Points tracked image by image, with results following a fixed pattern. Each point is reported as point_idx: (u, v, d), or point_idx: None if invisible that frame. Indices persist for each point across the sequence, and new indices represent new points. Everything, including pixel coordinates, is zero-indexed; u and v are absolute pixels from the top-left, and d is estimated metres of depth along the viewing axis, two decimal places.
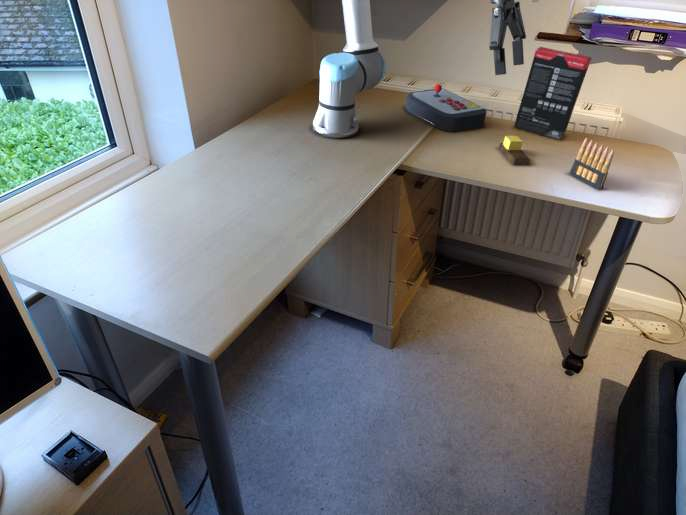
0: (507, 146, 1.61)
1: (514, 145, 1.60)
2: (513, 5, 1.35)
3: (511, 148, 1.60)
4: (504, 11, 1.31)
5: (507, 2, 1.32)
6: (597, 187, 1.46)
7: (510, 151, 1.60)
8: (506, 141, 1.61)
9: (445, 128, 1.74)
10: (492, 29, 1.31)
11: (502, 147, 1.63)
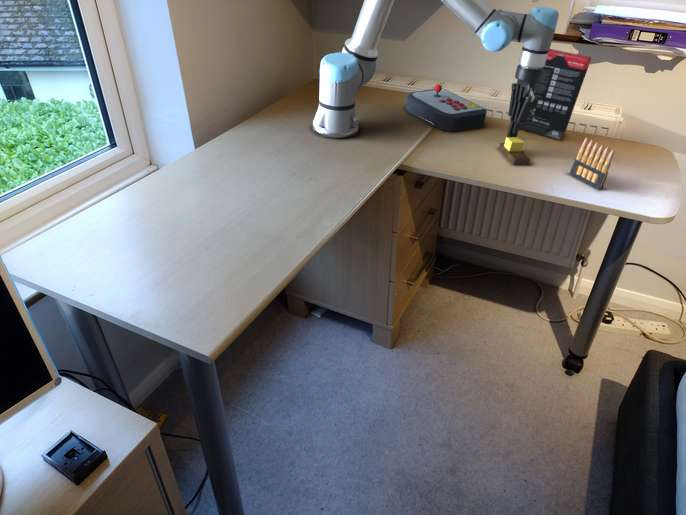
0: (508, 147, 1.60)
1: (515, 146, 1.59)
2: None
3: (513, 149, 1.59)
4: (533, 91, 1.50)
5: None
6: (597, 187, 1.46)
7: (510, 151, 1.60)
8: (507, 143, 1.61)
9: (445, 128, 1.74)
10: (524, 111, 1.53)
11: (502, 147, 1.63)
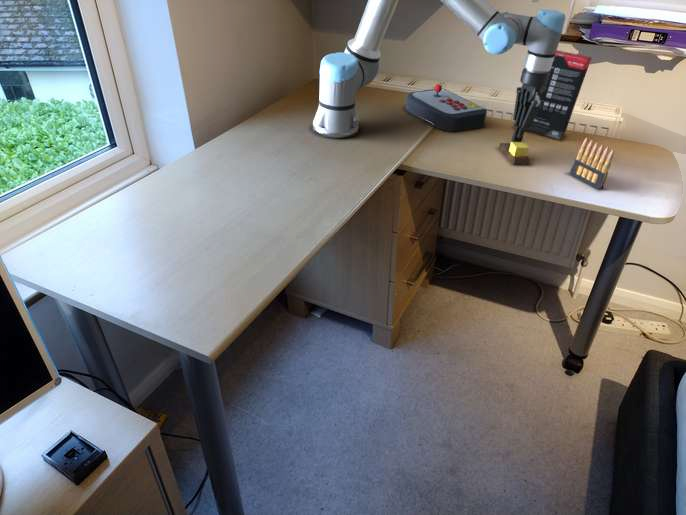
0: (513, 152, 1.57)
1: (520, 151, 1.56)
2: None
3: (517, 154, 1.56)
4: (539, 95, 1.47)
5: None
6: (597, 187, 1.46)
7: None
8: (512, 148, 1.58)
9: (445, 128, 1.74)
10: (529, 116, 1.50)
11: (502, 147, 1.63)
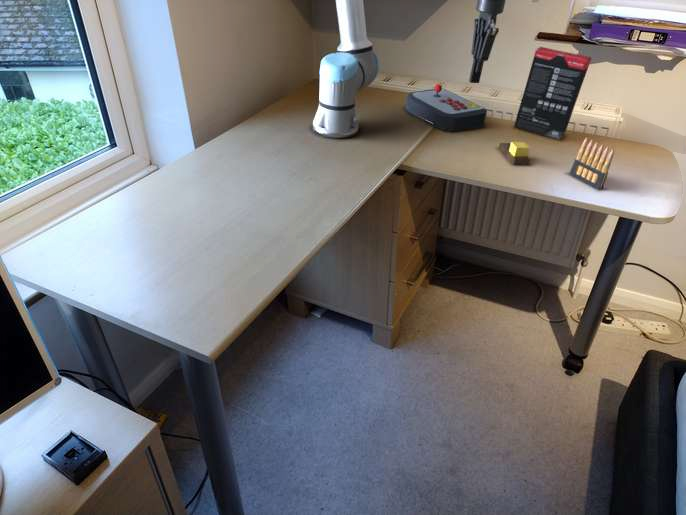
0: (513, 152, 1.57)
1: (520, 151, 1.56)
2: None
3: (518, 154, 1.56)
4: (495, 23, 1.41)
5: None
6: (597, 187, 1.46)
7: None
8: (512, 148, 1.58)
9: (445, 128, 1.74)
10: (485, 46, 1.44)
11: (502, 147, 1.63)
